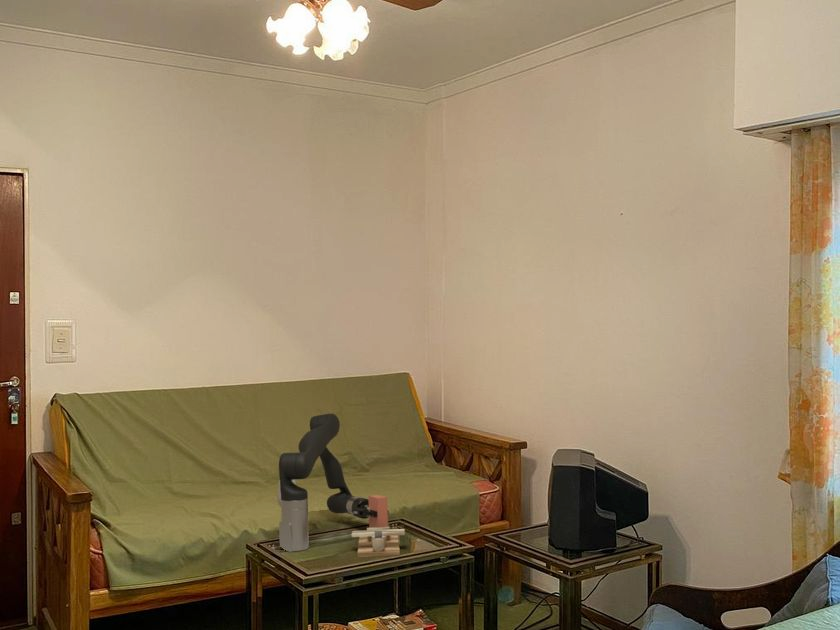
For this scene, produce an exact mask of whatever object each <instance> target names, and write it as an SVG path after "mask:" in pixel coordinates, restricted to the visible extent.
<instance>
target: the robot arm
mask: <svg viewBox="0 0 840 630" xmlns="http://www.w3.org/2000/svg"><path fill="white" fill-rule="evenodd" d="M340 424H341V423H340V419H339V417H338V415H336V414H335V413H325V414H318V415H314V416H312V417H311V418H310V420H309V430H308V431H307V432H306V433H305V434H304V435H303V436H302V438H301V439H300V440H299V443H298V452H283V453H282V454H280V455H279V461H278V474H279V475H278V476H279V480H280V492H281V506H280V509H281V511H280V512H281V521H279V522H278V525H279V527H278V533H279V536H280V538H279V548H280V547H282V548H283V549H284V550H283V551H285V550H286V551H285V552H290V553H292V552H301V551H305V550H307V549H309V547H310V543H309V542H310V541H309V540H310V539H309V538H310V537H309V508H308V507H309V503H308V502H309V501H308V500H309V499H308V498H309V496H308V490H307V489H306V488H303V487H300V486H298V485H297V484H296V485H295V484H294V483H293V482H292V479H295V480H304V479H308V477H309V476H310V475H311V473H312V470H314V469H313V468H314V466H315V464H316V463H317V460H318V459H319V458H320V462H321V464H322V467H323V471H324V476H325V480H326V483H327V487H328V489H329V490H336V489H339V492H337V493H334V494H332V495H330V496H328V498H327V499H326V507H327V509H328V510H329V511H330V512H332V513H333V514H349V515H351V516H354V517H356V518H359V519H363V520H366V519H369V517H371V516H372V517H375V518H376V517H377V511H374V510H371V509H369V498H365V497H362V496H354V495H353V494H352V493H351V491H350V489H349V487H348V486H347V483H346V480H345V477H344V472H343V467H342V464H341V463H340V462H339V460H338V458H336V457H335V455H334V454H333V453H332V452H331V451H330V450H329V448H328V447H327V446H328V444H329V443H330V442H331V441H332V440H333V439H334V438H335V437H336V436H338V434H339V432H340V426H341V425H340ZM389 513H390V512H388V515H389Z"/></svg>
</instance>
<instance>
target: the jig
mask: <svg viewBox="0 0 840 630" xmlns="http://www.w3.org/2000/svg"><path fill="white" fill-rule="evenodd" d="M405 533H406V531H405V529H404V528H400V529H399V528H395V529H394V528H393V529H391V527H390V526H388V527H370V528H369V527H366V530H353V531H351V538H358V545H357V558H365V557H367V558H368V557H391V556H395V557H396V556H401V555H400V554H401V550H400V539H399V536H405V535H406V534H405Z"/></svg>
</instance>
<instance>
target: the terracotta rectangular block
mask: <svg viewBox="0 0 840 630" xmlns="http://www.w3.org/2000/svg"><path fill="white" fill-rule="evenodd" d="M368 499H369V509H371V510H374V511H377V517H376V518H375V517H372V516H371V517H369V518H368V526H369V527H368V528H370V527H389V519H388V518H389V514H388V513H389V510H388V497H387V496H385V495H381V494H373V495H372V494H371V495H368Z"/></svg>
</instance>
